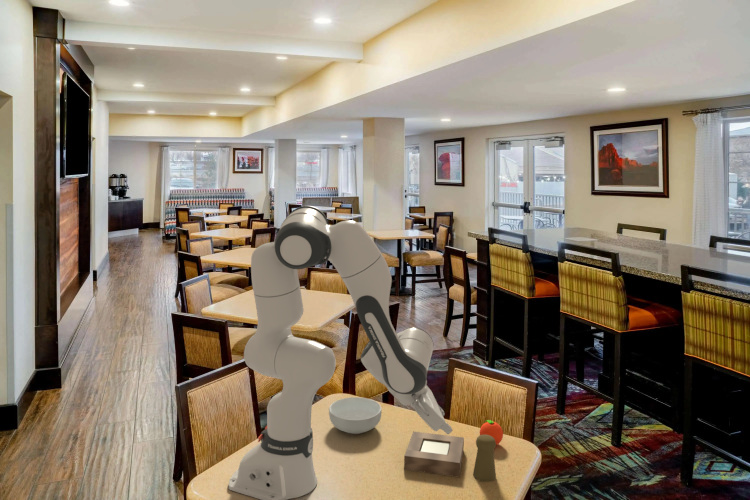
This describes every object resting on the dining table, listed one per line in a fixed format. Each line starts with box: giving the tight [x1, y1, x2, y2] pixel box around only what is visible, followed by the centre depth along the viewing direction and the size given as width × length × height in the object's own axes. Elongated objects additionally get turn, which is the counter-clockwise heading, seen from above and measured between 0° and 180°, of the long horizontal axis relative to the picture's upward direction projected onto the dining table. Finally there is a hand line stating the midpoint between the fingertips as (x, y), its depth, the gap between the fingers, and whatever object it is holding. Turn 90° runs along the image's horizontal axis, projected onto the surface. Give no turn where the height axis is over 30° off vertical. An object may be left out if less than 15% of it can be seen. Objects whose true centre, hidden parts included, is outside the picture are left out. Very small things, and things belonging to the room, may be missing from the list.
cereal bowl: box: [328, 396, 383, 435], centre depth 172 cm, size 17×17×7 cm
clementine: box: [479, 419, 504, 446], centre depth 164 cm, size 8×7×7 cm
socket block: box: [403, 431, 465, 478], centre depth 154 cm, size 15×15×4 cm
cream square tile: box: [421, 440, 450, 455], centre depth 153 cm, size 7×7×1 cm
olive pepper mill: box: [472, 434, 497, 483], centre depth 145 cm, size 6×6×11 cm
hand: (446, 423), depth 142 cm, fingers open, 8 cm apart
